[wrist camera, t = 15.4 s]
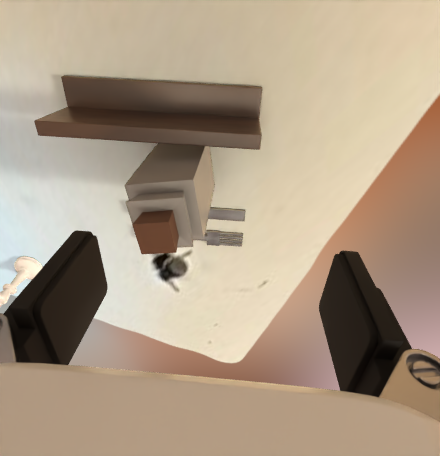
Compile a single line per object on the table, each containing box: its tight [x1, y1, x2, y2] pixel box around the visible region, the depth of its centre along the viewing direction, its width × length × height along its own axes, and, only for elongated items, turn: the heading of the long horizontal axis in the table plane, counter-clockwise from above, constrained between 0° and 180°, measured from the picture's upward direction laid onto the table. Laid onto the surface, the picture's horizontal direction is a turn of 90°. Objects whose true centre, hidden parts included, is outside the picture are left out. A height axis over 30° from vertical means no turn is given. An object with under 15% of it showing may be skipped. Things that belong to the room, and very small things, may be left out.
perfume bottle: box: [125, 143, 215, 254], centre depth 34 cm, size 7×7×18 cm
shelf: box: [35, 76, 262, 150], centre depth 34 cm, size 5×24×8 cm, turn 87°
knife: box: [208, 207, 245, 221], centre depth 45 cm, size 2×17×1 cm, turn 87°
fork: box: [193, 230, 243, 246], centre depth 48 cm, size 3×16×1 cm, turn 88°
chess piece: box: [0, 256, 43, 307], centre depth 50 cm, size 5×5×10 cm
